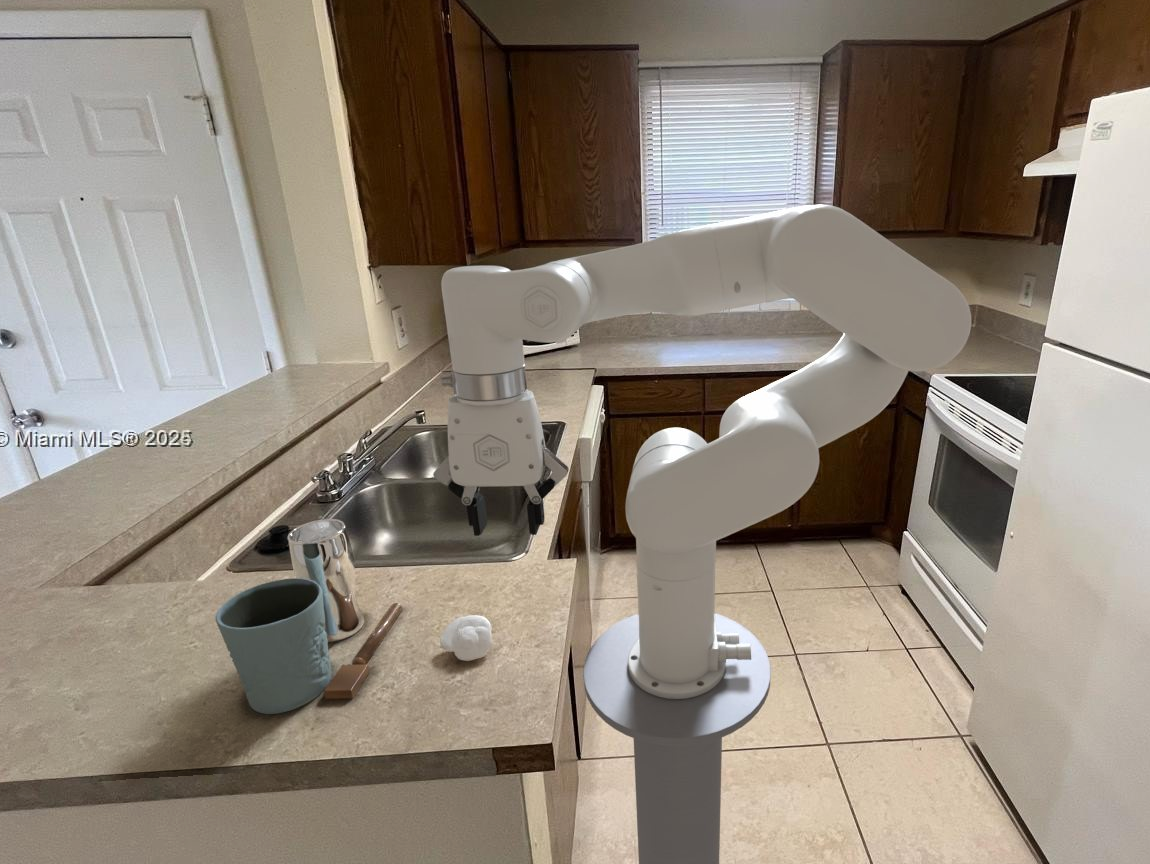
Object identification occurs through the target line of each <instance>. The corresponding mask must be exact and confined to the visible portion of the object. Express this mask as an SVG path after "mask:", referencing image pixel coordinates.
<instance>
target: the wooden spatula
mask: <svg viewBox="0 0 1150 864" xmlns="http://www.w3.org/2000/svg"><path fill="white" fill-rule="evenodd" d="M402 610H403V606H402V604H401V603H398V602H395V603H392V604H391V605H390V606H389V608H388V609H387V611H386V612H385V613H384V615H383V616H382V617H381V619H380V621H379V622H378V623H377V625H376V626H375V627H374V629H373V630H372V632H371V633H370V635H369V636H368V637H367V639H366V640H365V642H364V643H363V644H362V646H361V647H360V649H359V650H358V652H357V653H356V654H355V656H354V658H353V659H352V661H351V664H341V666H340V668H339V669H338V670H337V672H335V675H333V677H332V678H331V680H330V682H329V684H328V686H327V687H326V688H325V689H324V691H323V693H324V697H325V699H326V700H331V699H333V700H334V699H337V700H338V699H354V698H355V696H356V694H357V693H358V691H359V690H360V688H361V687H362V685H363V684H364V682H365V680H366V679H367V677H368V676H369V674H370V673H371V671H370V668H369V664H367V663H368V662H369V661H370V659H371V657H372V656H373V654H375V651H376V650H377V649H378V647H379V645H380V644H381V642H382V641H383V639H384V638H385V636H386V635H387V634H388V632H389V631H390V628H392V626H393V624H394V623H395V622H396V621H397V618H398V617H399V615H400V614H401V612H402Z"/></svg>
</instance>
